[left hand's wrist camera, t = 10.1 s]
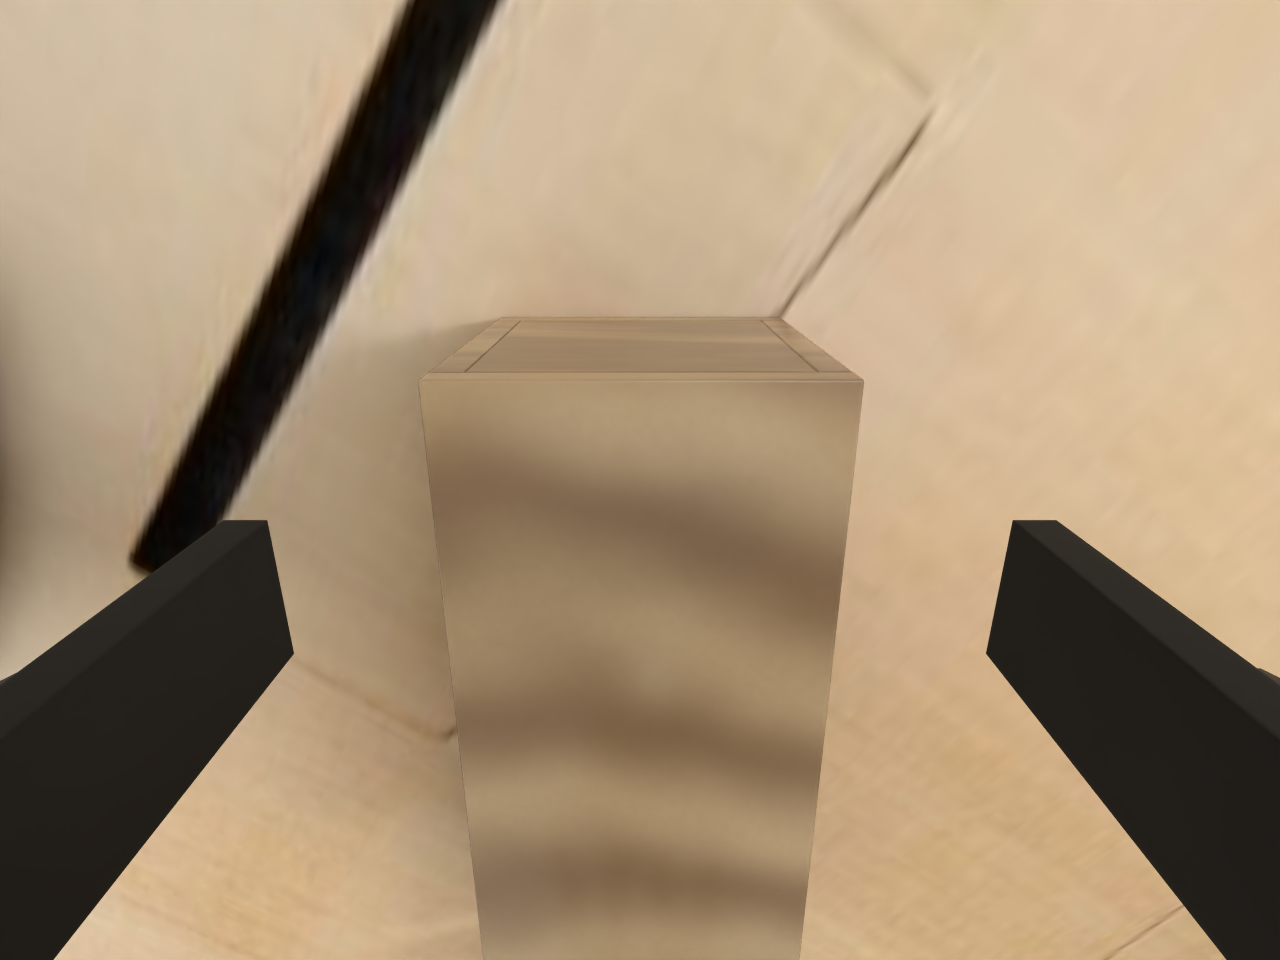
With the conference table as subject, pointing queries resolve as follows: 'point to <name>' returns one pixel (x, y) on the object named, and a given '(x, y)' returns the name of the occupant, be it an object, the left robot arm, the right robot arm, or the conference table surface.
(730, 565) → the cabinet
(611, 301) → the conference table surface
